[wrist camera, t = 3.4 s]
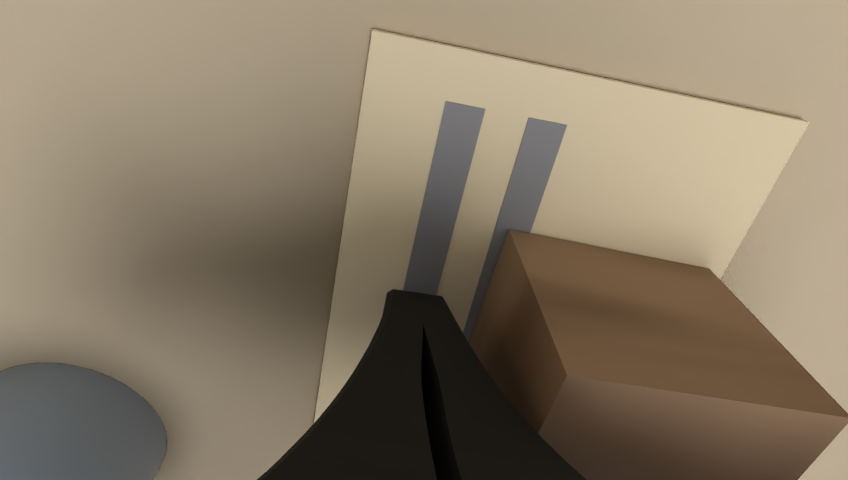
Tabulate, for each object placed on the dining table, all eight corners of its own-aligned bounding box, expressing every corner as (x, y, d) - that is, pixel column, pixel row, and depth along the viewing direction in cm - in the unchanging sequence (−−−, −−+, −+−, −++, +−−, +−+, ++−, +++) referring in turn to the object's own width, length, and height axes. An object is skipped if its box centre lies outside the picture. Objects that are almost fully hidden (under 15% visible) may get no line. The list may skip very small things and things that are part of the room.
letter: (596, 486, 17) (598, 493, 17) (308, 456, 16) (307, 463, 15) (802, 119, 11) (811, 122, 11) (372, 28, 10) (372, 30, 10)
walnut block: (621, 415, 15) (702, 585, 11) (449, 391, 14) (471, 565, 10) (709, 268, 13) (851, 418, 9) (508, 229, 12) (567, 375, 8)
